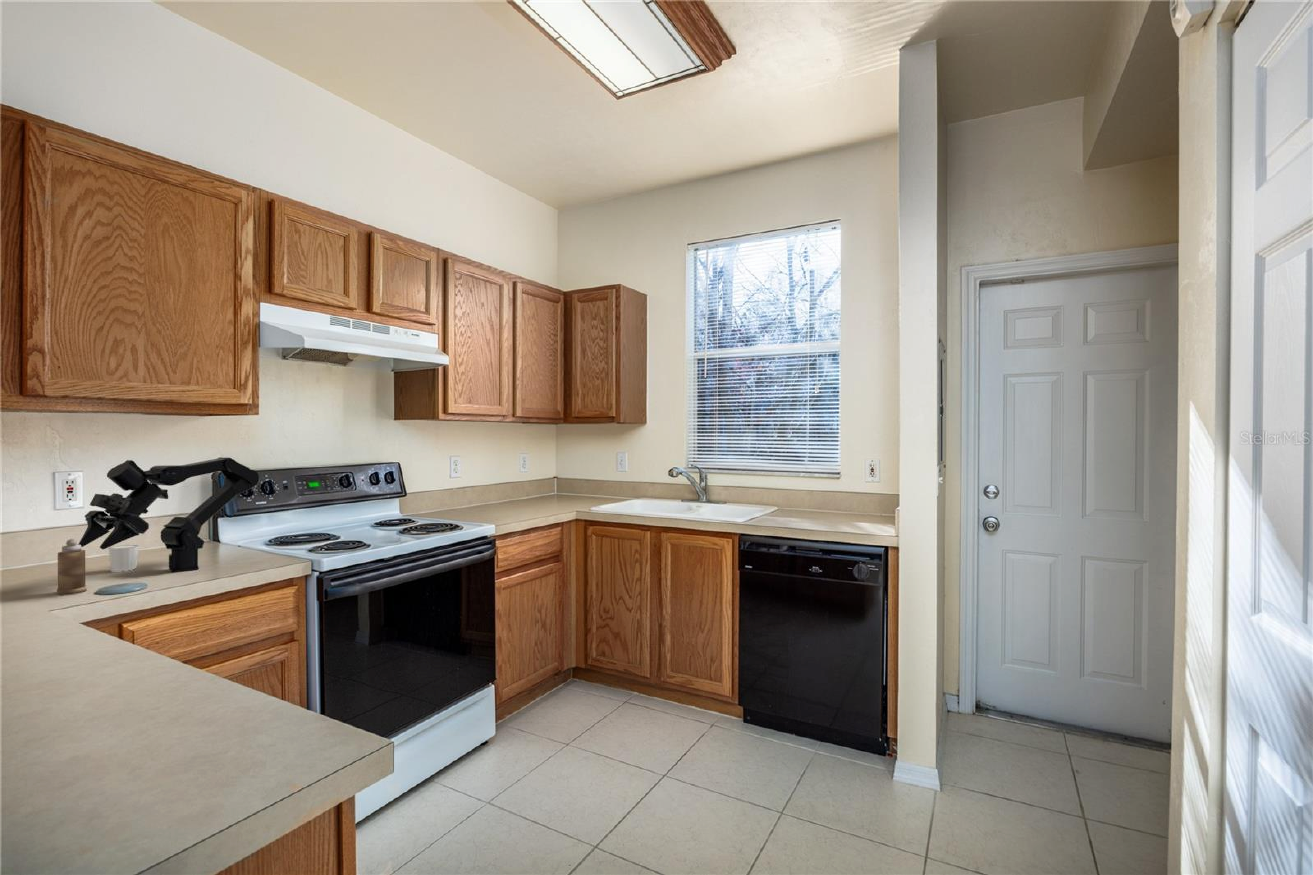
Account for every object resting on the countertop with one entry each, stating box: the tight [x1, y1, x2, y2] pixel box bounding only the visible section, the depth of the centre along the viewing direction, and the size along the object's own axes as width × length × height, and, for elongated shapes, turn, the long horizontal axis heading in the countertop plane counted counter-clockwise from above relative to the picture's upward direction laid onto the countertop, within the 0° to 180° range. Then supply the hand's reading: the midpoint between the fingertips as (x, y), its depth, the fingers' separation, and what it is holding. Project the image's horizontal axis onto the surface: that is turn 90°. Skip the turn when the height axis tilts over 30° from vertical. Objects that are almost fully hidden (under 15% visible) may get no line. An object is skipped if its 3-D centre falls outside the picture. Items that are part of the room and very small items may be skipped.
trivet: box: [96, 582, 148, 596], centre depth 163 cm, size 10×10×1 cm
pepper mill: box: [56, 538, 88, 596], centre depth 160 cm, size 6×6×14 cm
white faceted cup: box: [107, 544, 140, 573], centre depth 185 cm, size 7×7×7 cm
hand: (90, 547), depth 164 cm, fingers open, 9 cm apart
